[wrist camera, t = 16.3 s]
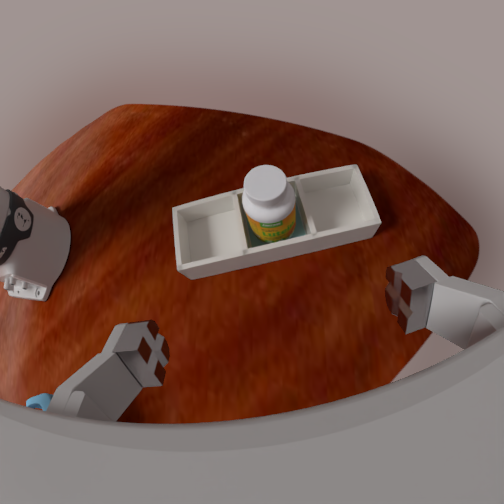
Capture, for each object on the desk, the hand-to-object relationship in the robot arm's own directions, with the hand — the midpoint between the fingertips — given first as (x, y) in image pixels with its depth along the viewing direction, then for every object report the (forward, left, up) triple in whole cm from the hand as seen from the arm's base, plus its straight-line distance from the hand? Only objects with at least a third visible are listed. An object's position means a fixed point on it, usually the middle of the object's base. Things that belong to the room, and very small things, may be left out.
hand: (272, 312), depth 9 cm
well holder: (+1, +13, -23) cm, 26 cm away
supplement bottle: (+1, +13, -22) cm, 25 cm away
